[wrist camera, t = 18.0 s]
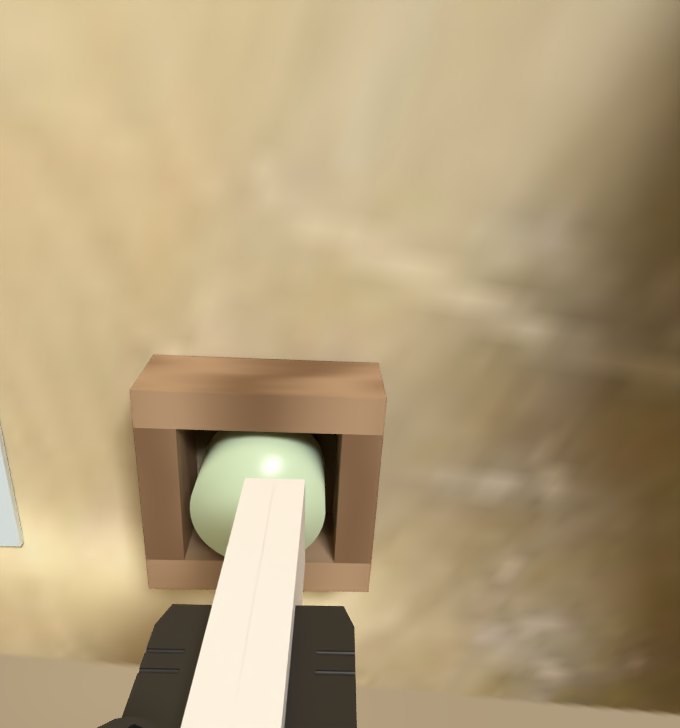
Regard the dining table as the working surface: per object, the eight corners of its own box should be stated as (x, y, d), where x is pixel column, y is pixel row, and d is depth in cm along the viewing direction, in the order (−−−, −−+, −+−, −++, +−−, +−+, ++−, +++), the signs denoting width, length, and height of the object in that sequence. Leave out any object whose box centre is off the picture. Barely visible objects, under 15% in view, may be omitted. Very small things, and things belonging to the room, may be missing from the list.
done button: (327, 415, 24) (328, 455, 21) (322, 516, 26) (322, 565, 23) (202, 411, 23) (186, 451, 21) (206, 514, 25) (192, 563, 23)
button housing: (378, 363, 24) (386, 398, 21) (363, 540, 27) (368, 591, 24) (153, 354, 23) (129, 390, 20) (167, 536, 27) (148, 588, 24)
